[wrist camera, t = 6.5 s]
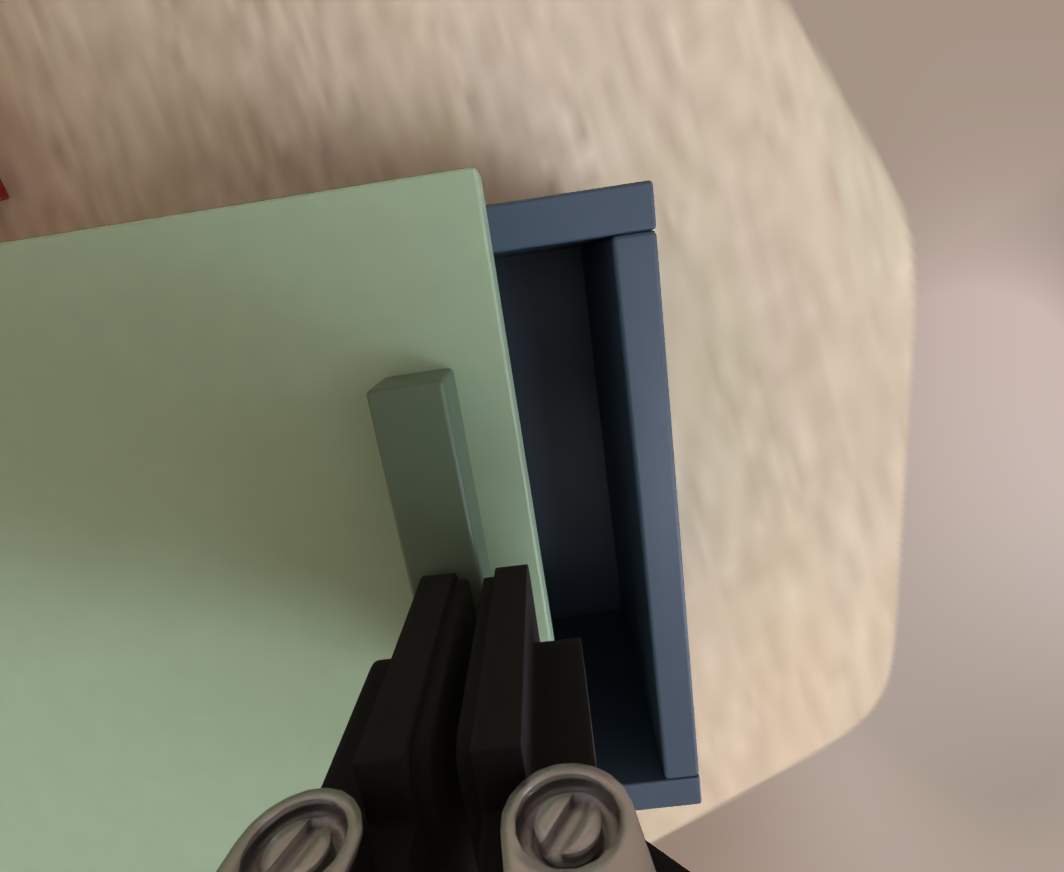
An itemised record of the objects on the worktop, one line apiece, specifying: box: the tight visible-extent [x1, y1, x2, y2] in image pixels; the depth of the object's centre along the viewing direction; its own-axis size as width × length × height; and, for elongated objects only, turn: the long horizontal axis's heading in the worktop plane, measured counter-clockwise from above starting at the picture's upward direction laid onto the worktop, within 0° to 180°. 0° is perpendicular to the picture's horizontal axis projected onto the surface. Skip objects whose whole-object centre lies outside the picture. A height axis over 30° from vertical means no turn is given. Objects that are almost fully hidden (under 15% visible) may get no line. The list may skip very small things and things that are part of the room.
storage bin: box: [486, 181, 701, 810], centre depth 16 cm, size 14×14×8 cm
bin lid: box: [0, 167, 555, 872], centre depth 11 cm, size 15×15×2 cm
